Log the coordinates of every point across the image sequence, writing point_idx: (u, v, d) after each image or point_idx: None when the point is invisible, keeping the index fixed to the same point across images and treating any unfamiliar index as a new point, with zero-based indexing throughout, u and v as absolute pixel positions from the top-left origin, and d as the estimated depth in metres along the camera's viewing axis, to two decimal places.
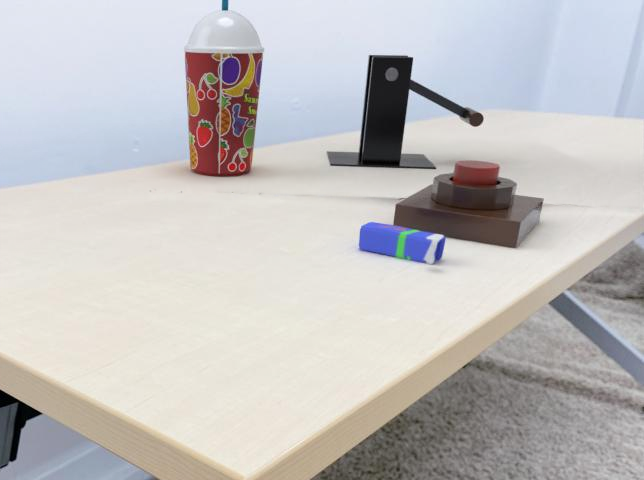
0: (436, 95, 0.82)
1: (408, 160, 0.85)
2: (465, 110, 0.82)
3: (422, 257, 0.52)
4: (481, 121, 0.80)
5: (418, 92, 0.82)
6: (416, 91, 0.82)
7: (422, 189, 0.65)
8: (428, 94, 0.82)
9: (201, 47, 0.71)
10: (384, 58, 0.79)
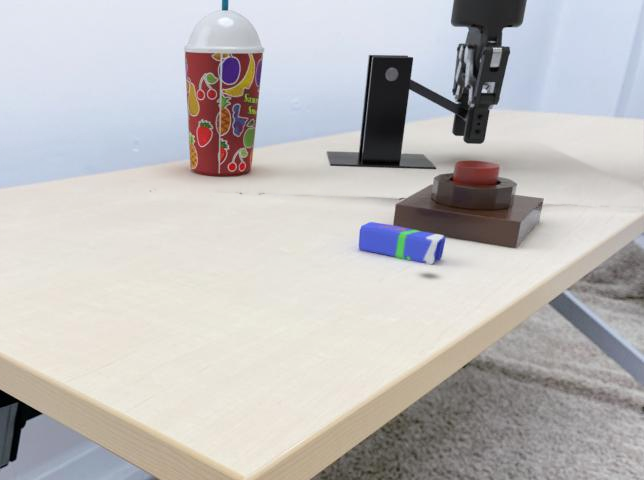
0: (436, 95, 0.82)
1: (408, 160, 0.85)
2: (465, 110, 0.82)
3: (422, 257, 0.52)
4: None
5: (418, 92, 0.82)
6: (416, 91, 0.82)
7: (422, 189, 0.65)
8: (428, 94, 0.82)
9: (201, 46, 0.71)
10: (384, 58, 0.79)
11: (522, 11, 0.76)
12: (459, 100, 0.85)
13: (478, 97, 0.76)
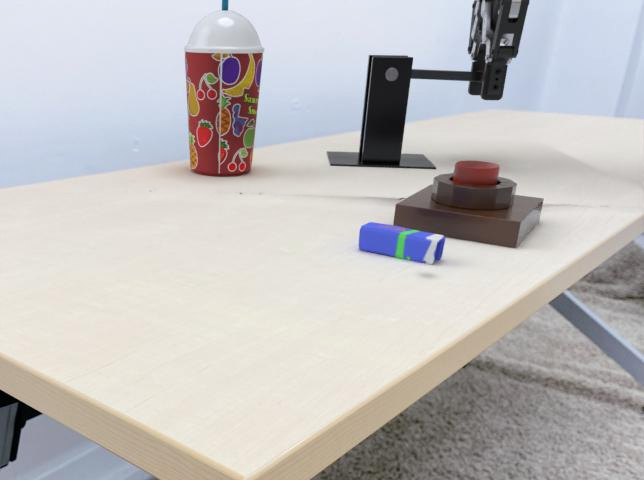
0: (443, 72, 0.80)
1: (408, 160, 0.85)
2: (478, 73, 0.80)
3: (422, 257, 0.52)
4: None
5: (425, 77, 0.81)
6: (422, 77, 0.81)
7: (422, 189, 0.65)
8: (435, 75, 0.81)
9: (201, 46, 0.71)
10: (384, 58, 0.79)
11: None
12: (475, 58, 0.83)
13: (496, 50, 0.74)
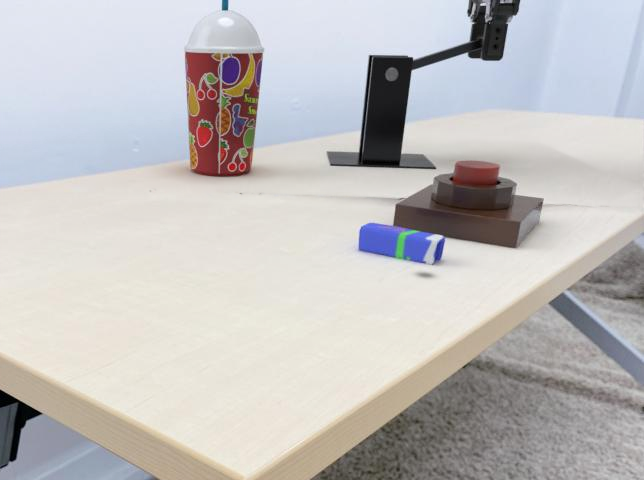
0: (442, 53, 0.80)
1: (408, 160, 0.85)
2: (478, 41, 0.79)
3: (422, 258, 0.52)
4: None
5: (426, 64, 0.80)
6: (423, 65, 0.80)
7: (422, 189, 0.65)
8: (435, 58, 0.80)
9: (201, 46, 0.71)
10: (384, 58, 0.79)
11: None
12: (475, 20, 0.81)
13: (496, 7, 0.72)
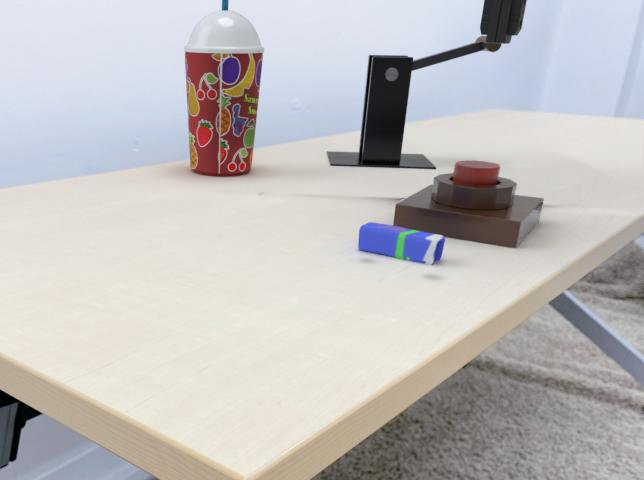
0: (443, 54, 0.80)
1: (408, 160, 0.85)
2: (478, 43, 0.79)
3: (421, 257, 0.52)
4: None
5: (426, 65, 0.80)
6: (423, 66, 0.80)
7: (422, 189, 0.65)
8: (435, 59, 0.80)
9: (201, 46, 0.71)
10: (384, 58, 0.79)
11: None
12: None
13: None
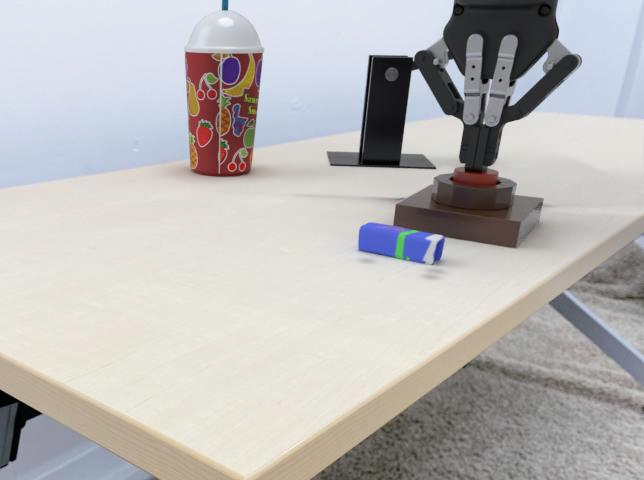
0: None
1: (408, 160, 0.85)
2: None
3: (421, 257, 0.52)
4: None
5: None
6: None
7: (422, 189, 0.65)
8: None
9: (201, 46, 0.71)
10: (384, 58, 0.79)
11: None
12: (476, 121, 0.58)
13: None
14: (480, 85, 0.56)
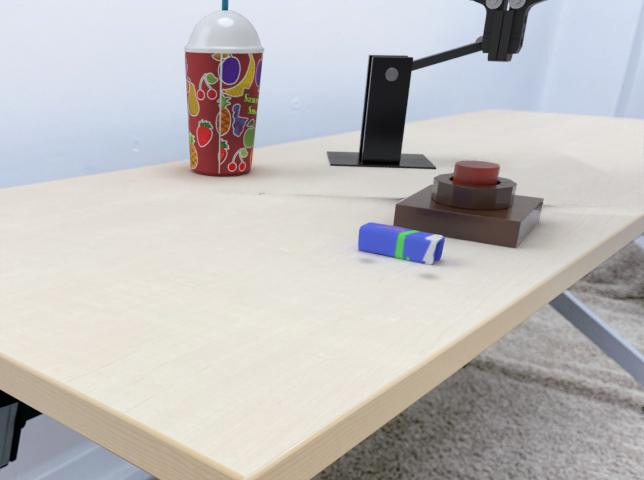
0: (443, 54, 0.80)
1: (408, 160, 0.85)
2: (478, 43, 0.79)
3: (421, 258, 0.52)
4: None
5: (426, 65, 0.80)
6: (423, 66, 0.80)
7: (422, 189, 0.65)
8: (435, 59, 0.80)
9: (201, 46, 0.71)
10: (384, 58, 0.79)
11: None
12: (500, 5, 0.55)
13: None
14: None
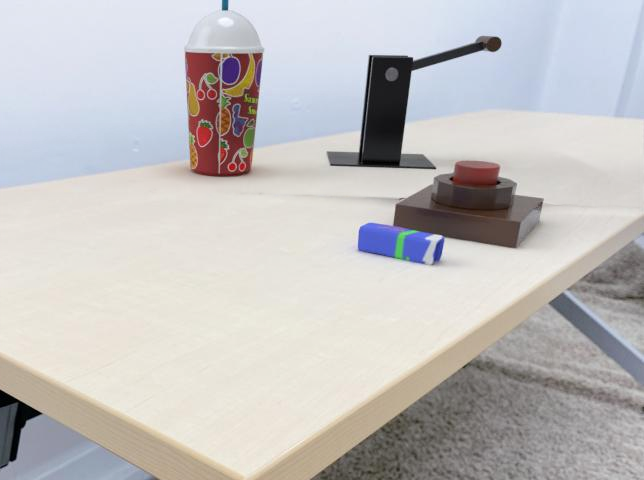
0: (443, 54, 0.80)
1: (408, 160, 0.85)
2: (478, 43, 0.79)
3: (421, 258, 0.52)
4: (499, 41, 0.77)
5: (426, 65, 0.80)
6: (423, 66, 0.80)
7: (422, 189, 0.65)
8: (435, 59, 0.80)
9: (201, 46, 0.71)
10: (384, 58, 0.79)
11: None
12: None
13: None
14: None
